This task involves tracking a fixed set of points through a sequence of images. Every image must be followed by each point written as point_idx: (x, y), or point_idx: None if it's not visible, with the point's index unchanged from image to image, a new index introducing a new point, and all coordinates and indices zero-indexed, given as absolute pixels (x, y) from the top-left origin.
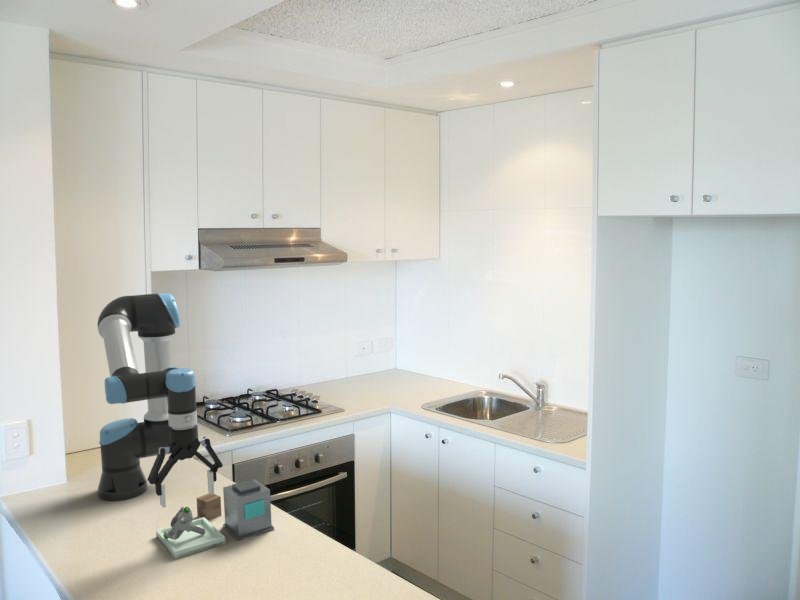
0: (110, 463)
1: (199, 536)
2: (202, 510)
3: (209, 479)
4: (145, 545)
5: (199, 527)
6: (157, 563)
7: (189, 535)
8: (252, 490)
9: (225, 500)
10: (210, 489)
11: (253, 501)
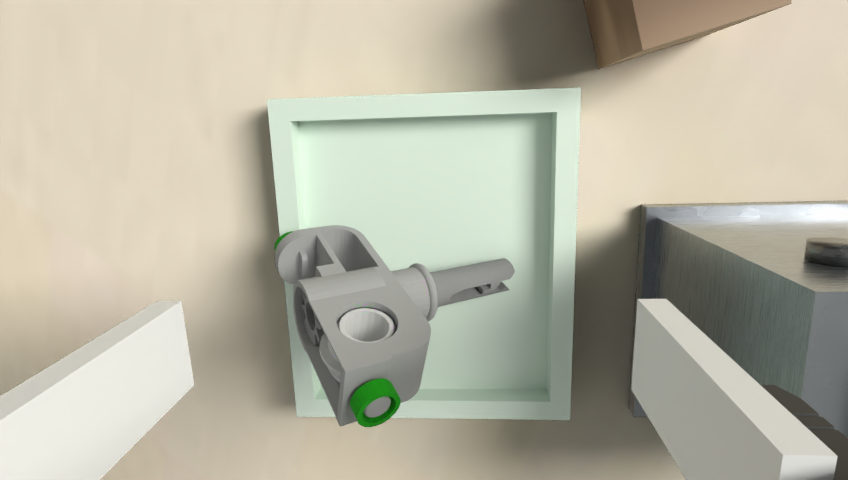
0: None
1: None
2: (603, 5)
3: (701, 447)
4: (212, 169)
5: (480, 285)
6: (232, 386)
7: (431, 232)
8: None
9: (739, 296)
10: (649, 390)
11: None
